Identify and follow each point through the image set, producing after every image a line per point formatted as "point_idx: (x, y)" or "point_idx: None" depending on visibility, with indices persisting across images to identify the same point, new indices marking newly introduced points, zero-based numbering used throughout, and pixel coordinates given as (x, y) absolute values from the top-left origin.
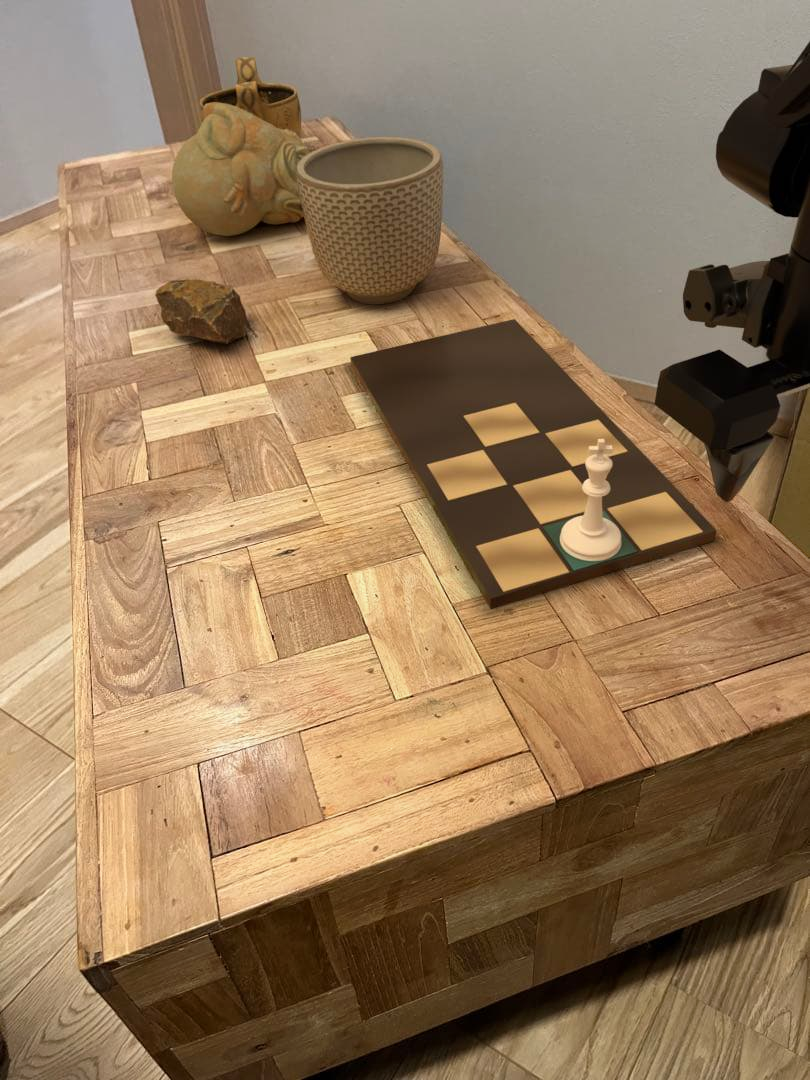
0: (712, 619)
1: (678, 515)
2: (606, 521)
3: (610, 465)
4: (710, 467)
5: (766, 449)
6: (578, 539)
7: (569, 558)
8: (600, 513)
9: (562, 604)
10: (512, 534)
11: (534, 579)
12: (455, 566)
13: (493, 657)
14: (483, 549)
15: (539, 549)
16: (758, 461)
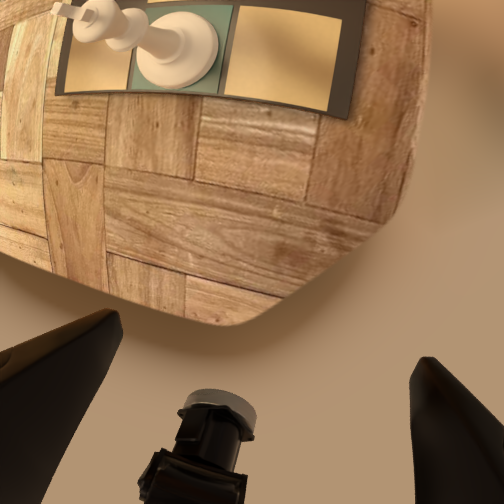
0: (240, 217)
1: (321, 65)
2: (201, 36)
3: (97, 34)
4: (46, 333)
5: (43, 496)
6: (145, 55)
7: (138, 68)
8: (153, 49)
9: (116, 116)
10: None
11: (92, 86)
12: None
13: (48, 150)
14: None
15: None
16: (58, 463)
